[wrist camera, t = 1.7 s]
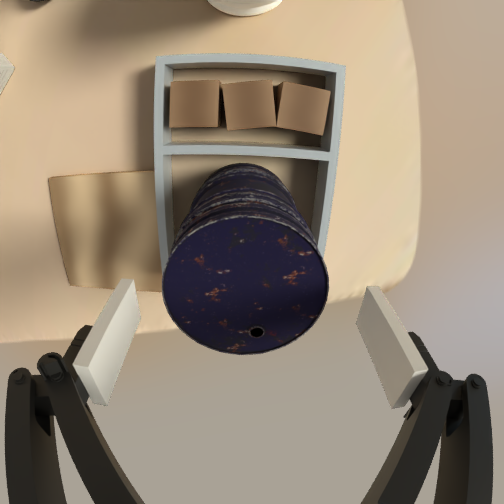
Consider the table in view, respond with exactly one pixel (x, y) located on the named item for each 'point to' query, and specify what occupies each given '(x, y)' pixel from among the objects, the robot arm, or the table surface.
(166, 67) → the tray
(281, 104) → the block
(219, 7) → the jar
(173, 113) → the block
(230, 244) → the rusty oil drum
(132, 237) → the mat
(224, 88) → the block
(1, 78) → the skincare box
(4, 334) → the table surface
